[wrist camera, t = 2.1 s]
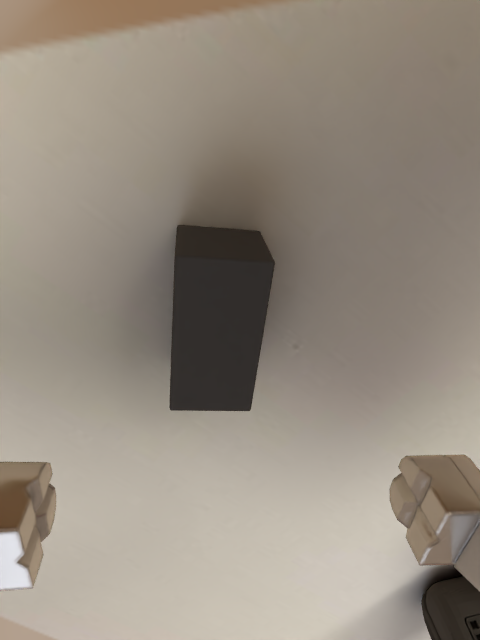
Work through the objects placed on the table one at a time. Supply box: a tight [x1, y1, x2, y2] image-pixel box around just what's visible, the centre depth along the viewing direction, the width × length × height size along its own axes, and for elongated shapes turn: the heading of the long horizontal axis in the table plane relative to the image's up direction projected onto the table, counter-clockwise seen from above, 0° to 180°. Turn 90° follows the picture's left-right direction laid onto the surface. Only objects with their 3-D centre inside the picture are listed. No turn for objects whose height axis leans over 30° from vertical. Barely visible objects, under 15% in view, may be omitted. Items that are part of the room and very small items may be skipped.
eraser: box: [169, 225, 275, 411], centre depth 15 cm, size 6×3×3 cm, turn 174°
